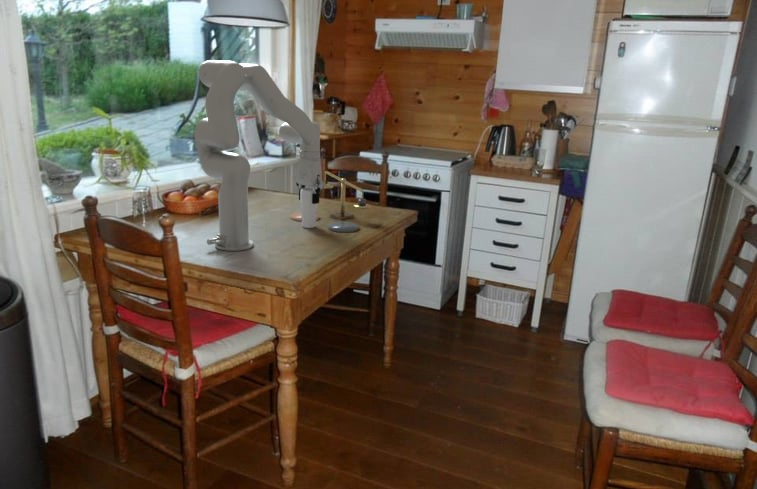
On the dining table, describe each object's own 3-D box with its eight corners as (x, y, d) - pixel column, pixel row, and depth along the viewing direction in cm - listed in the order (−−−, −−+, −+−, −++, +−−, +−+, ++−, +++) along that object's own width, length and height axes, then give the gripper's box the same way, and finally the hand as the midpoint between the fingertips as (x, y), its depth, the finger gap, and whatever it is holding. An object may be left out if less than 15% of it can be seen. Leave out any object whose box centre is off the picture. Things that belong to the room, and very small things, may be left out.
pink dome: (303, 223, 221) (303, 220, 221) (284, 217, 228) (284, 215, 228) (325, 218, 230) (325, 216, 230) (305, 212, 237) (305, 210, 237)
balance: (360, 226, 222) (362, 181, 216) (312, 212, 239) (312, 170, 234) (374, 222, 227) (376, 179, 222) (325, 209, 245) (326, 168, 240)
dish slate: (343, 234, 209) (343, 231, 209) (321, 227, 216) (321, 225, 216) (364, 228, 218) (364, 226, 218) (342, 222, 225) (342, 220, 225)
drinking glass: (314, 229, 213) (314, 191, 208) (297, 228, 214) (297, 190, 210) (319, 225, 219) (320, 188, 215) (303, 223, 220) (303, 186, 216)
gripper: (286, 153, 211) (286, 198, 216) (318, 159, 200) (317, 207, 206) (301, 151, 216) (301, 196, 222) (333, 157, 206) (331, 204, 211)
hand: (309, 201), depth 214 cm, fingers closed on drinking glass, 6 cm apart
